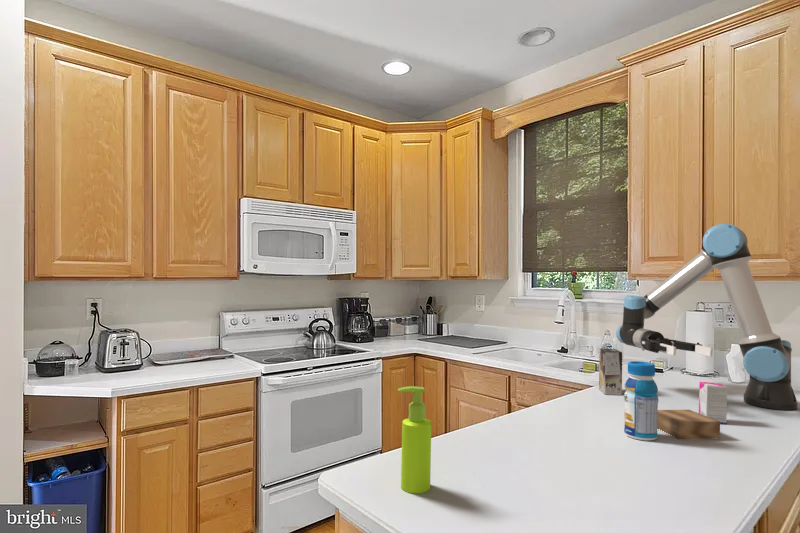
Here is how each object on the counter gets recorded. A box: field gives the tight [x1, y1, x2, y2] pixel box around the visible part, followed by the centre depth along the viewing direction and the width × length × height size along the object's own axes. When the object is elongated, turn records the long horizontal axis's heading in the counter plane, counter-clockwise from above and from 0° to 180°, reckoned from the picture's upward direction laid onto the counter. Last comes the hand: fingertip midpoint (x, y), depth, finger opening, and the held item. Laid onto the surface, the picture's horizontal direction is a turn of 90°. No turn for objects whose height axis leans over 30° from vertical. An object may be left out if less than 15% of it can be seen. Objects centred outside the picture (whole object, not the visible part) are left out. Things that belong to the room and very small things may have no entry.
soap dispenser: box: [397, 385, 432, 495], centre depth 98 cm, size 6×7×20 cm
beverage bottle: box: [623, 360, 659, 442], centre depth 133 cm, size 8×8×20 cm
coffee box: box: [598, 348, 623, 396], centre depth 185 cm, size 9×6×16 cm
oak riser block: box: [657, 409, 721, 440], centre depth 137 cm, size 12×12×5 cm
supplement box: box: [698, 381, 728, 425], centre depth 149 cm, size 6×6×12 cm
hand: (693, 351), depth 158 cm, fingers open, 13 cm apart
